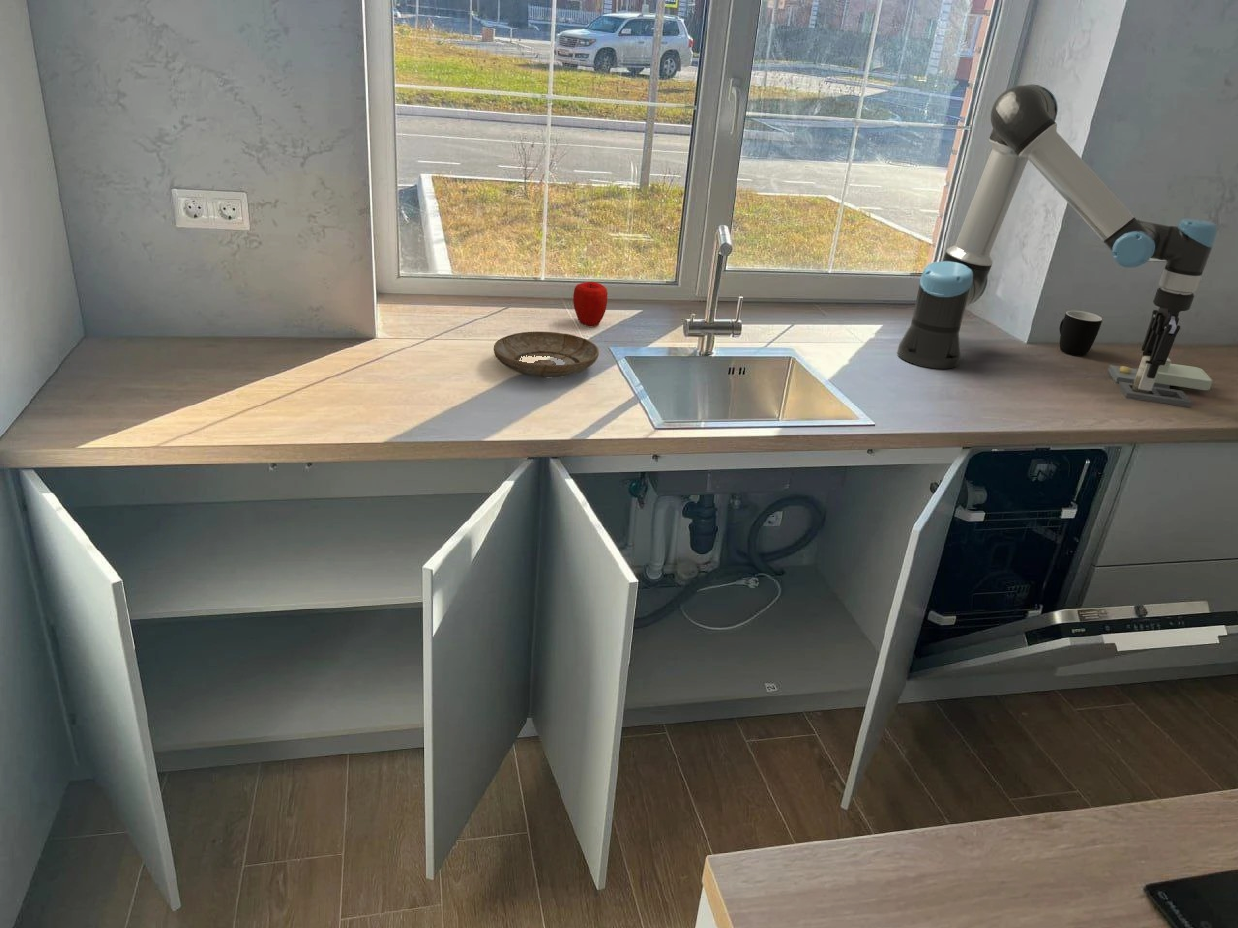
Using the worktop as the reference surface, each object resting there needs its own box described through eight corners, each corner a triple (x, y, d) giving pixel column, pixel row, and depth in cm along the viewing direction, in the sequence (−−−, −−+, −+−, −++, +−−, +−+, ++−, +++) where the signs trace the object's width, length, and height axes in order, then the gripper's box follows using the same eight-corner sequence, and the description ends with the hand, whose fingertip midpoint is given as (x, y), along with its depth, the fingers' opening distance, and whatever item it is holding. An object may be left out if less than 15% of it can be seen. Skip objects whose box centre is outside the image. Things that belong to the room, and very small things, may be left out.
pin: (1132, 395, 217) (1144, 359, 213) (1129, 390, 220) (1141, 354, 216) (1148, 398, 216) (1161, 362, 212) (1145, 393, 219) (1158, 357, 215)
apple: (575, 317, 239) (577, 276, 234) (608, 321, 238) (611, 280, 234) (568, 327, 231) (570, 285, 227) (602, 331, 231) (605, 289, 226)
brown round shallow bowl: (619, 371, 207) (620, 350, 204) (542, 395, 191) (543, 373, 188) (548, 343, 220) (549, 323, 218) (471, 363, 204) (471, 342, 202)
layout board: (1115, 382, 225) (1119, 372, 224) (1107, 370, 233) (1111, 360, 231) (1168, 390, 222) (1172, 380, 221) (1158, 378, 230) (1162, 368, 229)
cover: (1153, 382, 222) (1160, 361, 220) (1142, 368, 231) (1150, 348, 229) (1209, 390, 220) (1218, 369, 217) (1197, 376, 228) (1205, 356, 226)
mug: (1098, 358, 241) (1110, 321, 237) (1068, 358, 240) (1079, 320, 235) (1070, 343, 252) (1081, 307, 247) (1041, 342, 250) (1052, 306, 246)
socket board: (1125, 397, 216) (1127, 392, 215) (1118, 386, 223) (1119, 381, 222) (1190, 407, 213) (1191, 402, 212) (1180, 395, 220) (1182, 390, 219)
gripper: (1205, 302, 199) (1168, 401, 209) (1184, 283, 214) (1150, 377, 224) (1168, 297, 201) (1133, 396, 211) (1149, 279, 215) (1117, 372, 225)
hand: (1142, 386), depth 217 cm, fingers closed on pin, 3 cm apart
